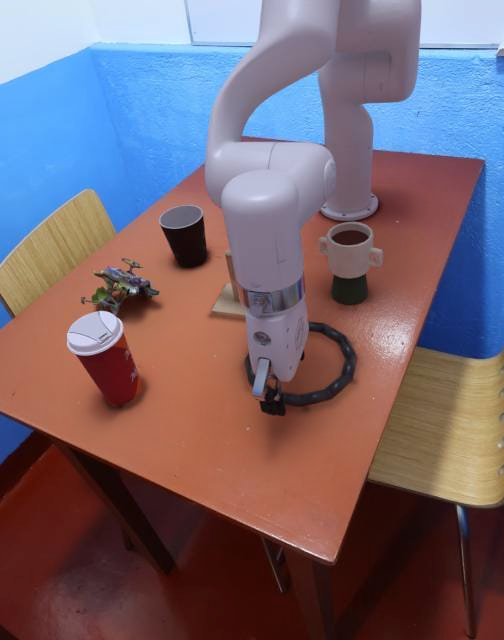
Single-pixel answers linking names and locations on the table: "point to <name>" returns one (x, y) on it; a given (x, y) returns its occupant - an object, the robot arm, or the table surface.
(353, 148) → the robot arm
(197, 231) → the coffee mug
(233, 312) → the post
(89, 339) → the paper cup
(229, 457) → the table surface
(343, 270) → the white handled cup
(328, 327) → the ring
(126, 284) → the passion flower
